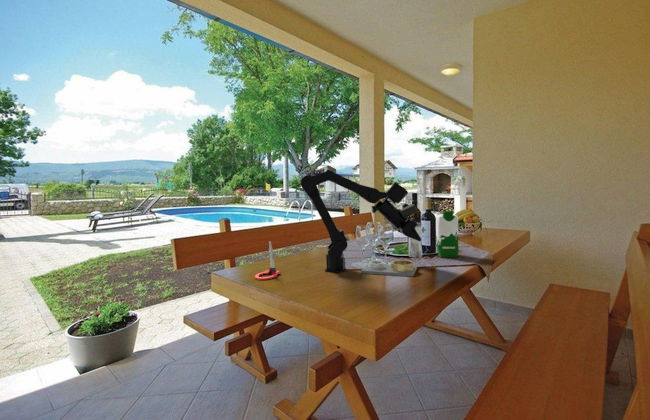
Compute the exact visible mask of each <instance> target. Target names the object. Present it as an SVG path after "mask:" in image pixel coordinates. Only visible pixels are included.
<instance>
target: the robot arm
mask: <svg viewBox="0 0 650 420" xmlns="http://www.w3.org/2000/svg"><path fill="white" fill-rule="evenodd" d="M326 182H331V183H334V184H336V185H338V186H340V187H341V188H344V189H346V190H349V191H350V192H352V193H354V194H356V195H357V196H358V197H360V198H361V199H363V200H364V201H366V202H367V203H369V204H370V203H371V204H374V205H371V206H370V208H371V213H373V214H375V213H376V212H378V213H380V215H381V216H382V217H383V218H384V219H385V220H386V221H387V222H389V223H390V227H391V228H392V229H393V230H395V231H397V232H398V233H400V234H402V235H404V236H405V237H407V238H408V237H410V238H412V239H415V240H417V241H421V240H423V238H422V239H421V238H420V236H419V235H418V233H417V231H416V230H415V227H416V226H417V223H418V222H416V221H415V220H414V219H409V217H410V216H412V215H414V214H417V213H419V211H418V208H417V207H416V205H415V204H413V203H412V204H411V203H410V204H407V203H406V202H405V203H404V204H402V207H401V209H399V208H396V206H394V205H395V204H400V203H401V201H403V199H404V198H405V197H406V196H407V195H408V194H409V192H408V190H407V189H406V188H405V187H404V186H402V185H400V184H399V183H398V182H396V181H394V182H393V183H392V184H391V186H390V187H389V188H388V189H387V190H386V191H383V190H382V191H380V190H379V189H378V188H374V187H371V186H368V185H362V184H360V183H357V182H355V181H353V180H351V179H349V178H347V177H345V176H343V175H340V174H338V173H336V172H334V171H333V170H331V169H328V170H326V171H324V172H320V173H317V174H314V175H304V176H303V177H302V178H301V180H300V187H301V188H302V190H303V191H304V192H305V193H306V195H307V196H308V197H309V199H310V200H311V202H312V203H313V204H314V206H315V209H316V211H317V212H318V214H319V217H320V218H321V220H322V222H323V225H324V226H325V228H326V230H327V232H328V235H329V239H330V241H331V243H329V244H328V246H327V247H326V252H327V254H326V255H325V258H326V259H325V260H326V261H325V262H326V269H324V272H330V273H331V272H332V273H333V272H335V273H341V272H342V271H344V270H345V269H346V268H347V267H346V258H345V257H344V255H345V254H344V253H343V252H344V251H346V249H347V248H348V245H349V244H348V242H347V241H349V238H348V237H347V236H346V235H345V231H344V230H343V228H340V229H338V227H337V226H336V224H335V222H334V220H333V218H332V216H331V214H330V212H329V210H328V208H327V206H326V204H325V203H324V201H323V199H322V197H321V195H320V191H319V189H318V186H317V185H320V184H323V183H326Z"/></svg>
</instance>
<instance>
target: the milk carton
mask: <svg viewBox="0 0 650 420" xmlns="http://www.w3.org/2000/svg"><path fill="white" fill-rule="evenodd" d="M435 217H436V218H435V221H436V222H435V231H436V233H435V237H436V238H435V239H436V241H435V242H436V251H437V255H438V256H439V257H440V258H458V255H459V216H458V215H456V214H454V211H453V210H443V211H442V214H436V216H435Z"/></svg>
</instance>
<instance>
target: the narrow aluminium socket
mask: <svg viewBox="0 0 650 420" xmlns="http://www.w3.org/2000/svg"><path fill="white" fill-rule="evenodd" d="M367 264H368V268H370V269H376V270H378V269H383V268H384V264H385V262H384V261H382V260H370V261H368V262H367Z"/></svg>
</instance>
